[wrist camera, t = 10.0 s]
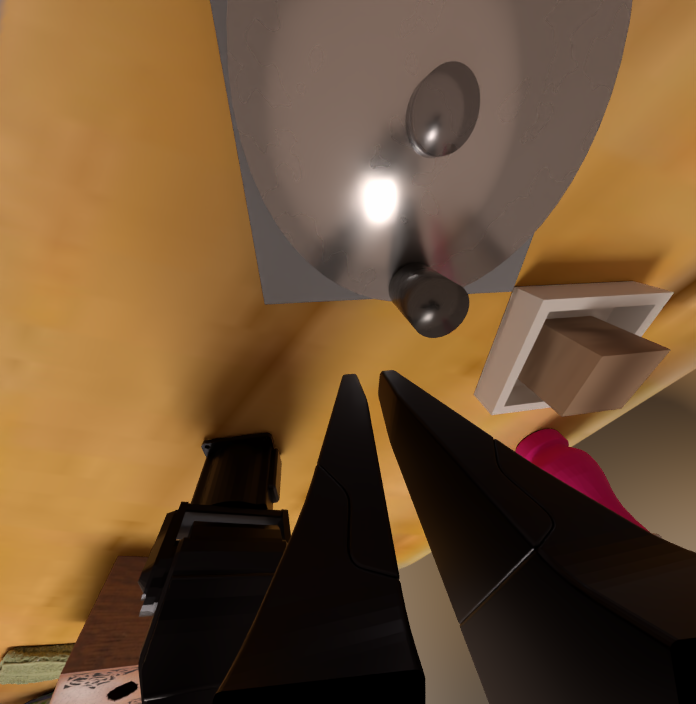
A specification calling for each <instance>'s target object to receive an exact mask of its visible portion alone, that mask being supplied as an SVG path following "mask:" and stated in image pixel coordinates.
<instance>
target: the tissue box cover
mask: <svg viewBox="0 0 696 704" xmlns="http://www.w3.org/2000/svg"><path fill="white" fill-rule="evenodd" d="M147 559H148V557H134V556H118V557H117V559H116V561H115V563H114V566H113V568H112V570H111V572H110V574H109V576H108V578H107V580H106V582H105V584H104V586H103V588H102V590H101V592H100V594H99V596H98V598H97V600H96V602H95V604H94V606H93V608H92V611H91V613H90V615H89V617H88V619H87V621H86V623H85V625H84V627H83V629H82V631H81V633H80V635H79V637H78V639H77V641H76V643H75V645H74V647H73V649H72V651H71V653H70V656H69V658H68V660H67V662H66V664H65V666H64V668H63V670H62V672H61V674H60V677H59V679H58V682H57V685H56V687H55V690H54V693H53V695H52V698H51V701H50V703H49V704H142V701H141V691H140V682H139V672H138V662H139V656H140V651H141V648H142V645H143V642H144V639H145V636H146V633H147V630H148V627H149V624H150V621H151V619H152V616H144V617H139V614H140V611H141V608H142V605H143V603H144V601H141V598H142V595H143V592H142V590H141V588H140V586H139V584H138V580H139V577H140V575H141V572H142V570H143V568H144V566H145V564H146V561H147Z"/></svg>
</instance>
